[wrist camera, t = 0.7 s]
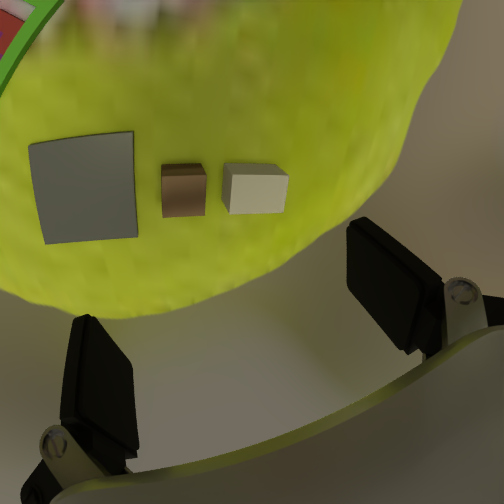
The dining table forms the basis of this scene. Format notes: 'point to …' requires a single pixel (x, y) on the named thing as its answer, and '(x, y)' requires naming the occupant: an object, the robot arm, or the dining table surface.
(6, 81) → the jigsaw puzzle tray
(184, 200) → the walnut cube
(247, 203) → the cream brick
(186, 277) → the dining table surface
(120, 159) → the base plate
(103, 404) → the robot arm
